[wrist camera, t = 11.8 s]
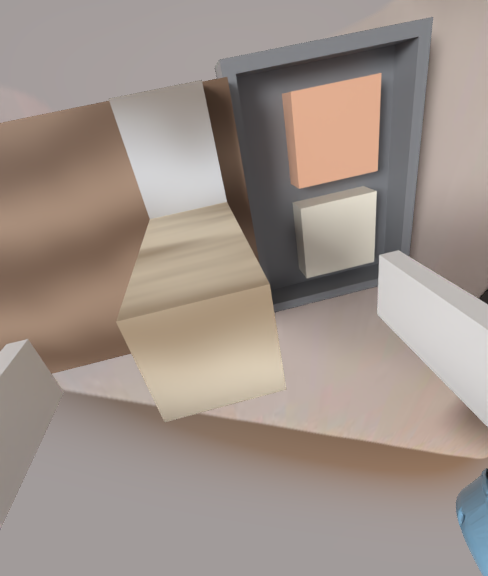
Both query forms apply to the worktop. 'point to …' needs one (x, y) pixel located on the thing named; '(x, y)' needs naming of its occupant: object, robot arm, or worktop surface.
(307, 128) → the terracotta tile
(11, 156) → the board
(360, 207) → the cream tile
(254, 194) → the tray
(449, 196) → the worktop surface
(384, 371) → the worktop surface
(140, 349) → the two-tone beige block
